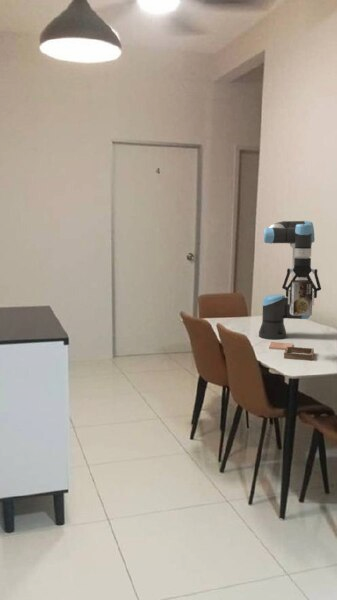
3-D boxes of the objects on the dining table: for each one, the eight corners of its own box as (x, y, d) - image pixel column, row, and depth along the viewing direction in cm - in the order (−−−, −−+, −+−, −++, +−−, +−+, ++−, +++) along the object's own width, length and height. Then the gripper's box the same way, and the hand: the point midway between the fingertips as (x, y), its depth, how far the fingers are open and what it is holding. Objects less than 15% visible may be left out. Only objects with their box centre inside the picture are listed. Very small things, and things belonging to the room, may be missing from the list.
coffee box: (307, 313, 248) (309, 279, 246) (312, 315, 242) (313, 281, 239) (289, 313, 248) (290, 279, 245) (292, 315, 242) (294, 281, 239)
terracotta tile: (271, 343, 272) (271, 341, 272) (292, 345, 268) (292, 343, 268) (268, 348, 261) (268, 346, 261) (291, 350, 258) (291, 348, 258)
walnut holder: (286, 351, 256) (286, 346, 255) (313, 353, 252) (313, 348, 252) (283, 358, 244) (284, 353, 243) (312, 360, 240) (312, 355, 239)
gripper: (276, 257, 240) (275, 304, 244) (328, 258, 233) (325, 306, 237) (278, 256, 247) (277, 301, 251) (328, 257, 240) (326, 304, 244)
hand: (300, 304), depth 244 cm, fingers closed on coffee box, 10 cm apart
